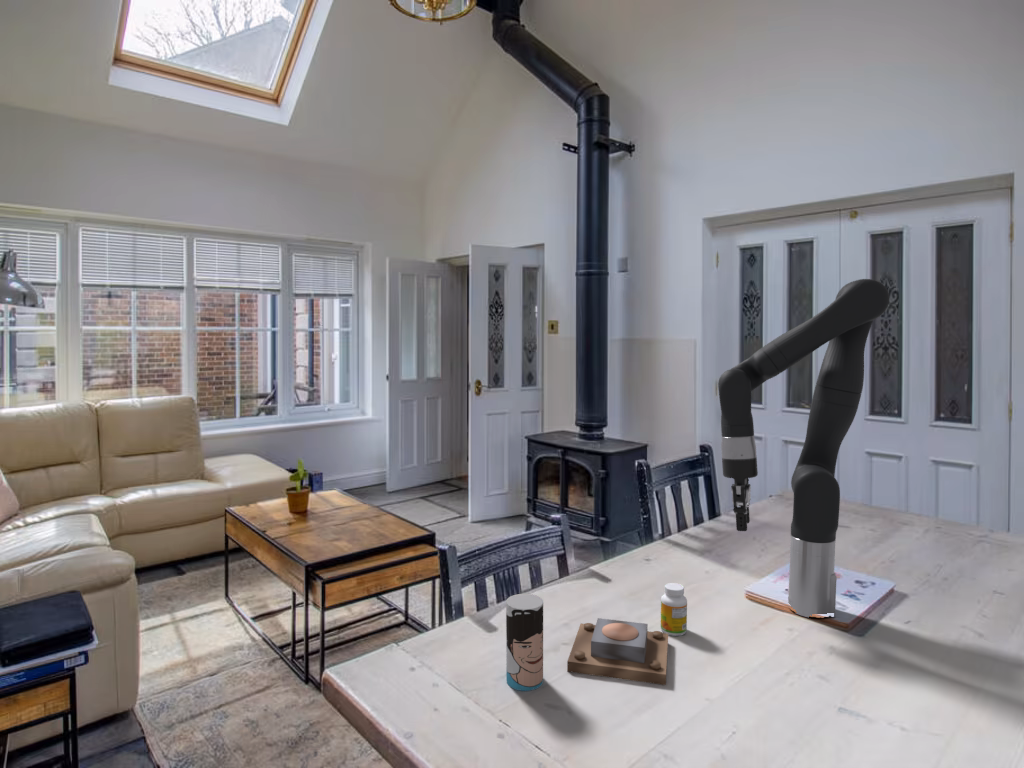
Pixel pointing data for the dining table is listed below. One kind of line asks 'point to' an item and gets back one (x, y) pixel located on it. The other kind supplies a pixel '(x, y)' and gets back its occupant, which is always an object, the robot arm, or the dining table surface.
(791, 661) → the dining table surface
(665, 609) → the supplement bottle
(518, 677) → the printed can
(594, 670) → the plinth
